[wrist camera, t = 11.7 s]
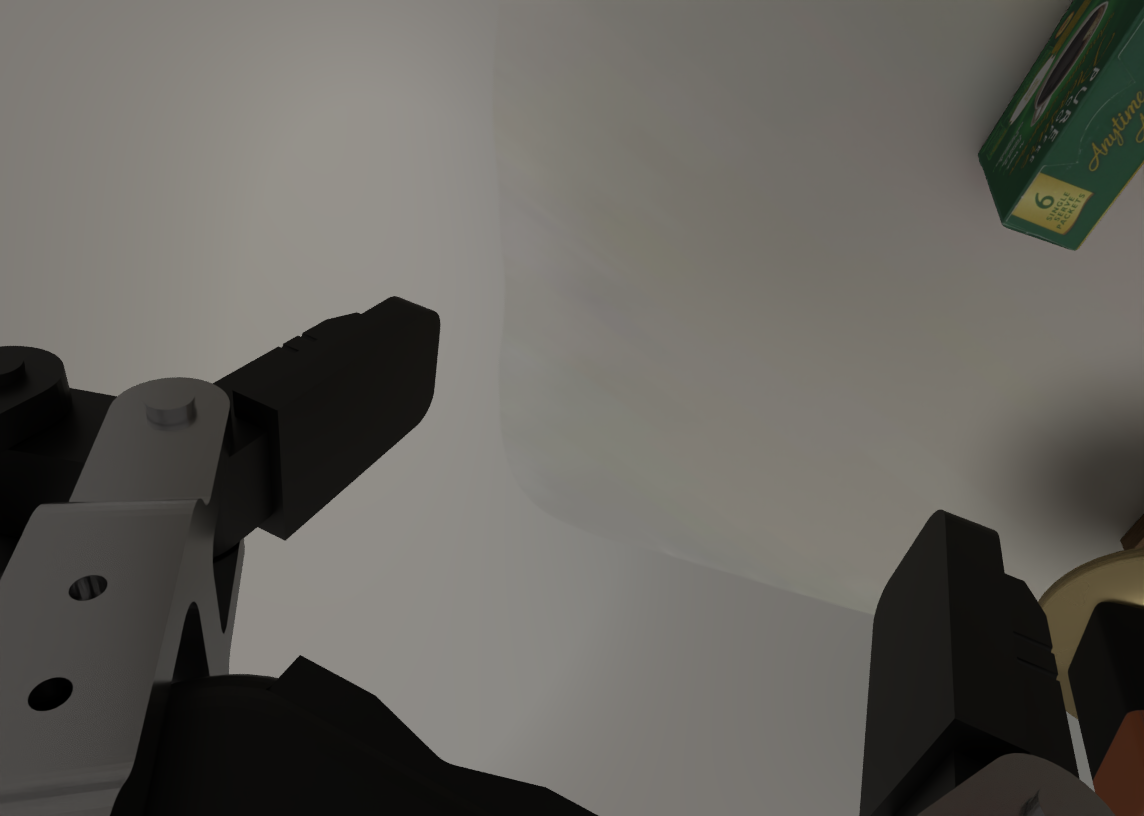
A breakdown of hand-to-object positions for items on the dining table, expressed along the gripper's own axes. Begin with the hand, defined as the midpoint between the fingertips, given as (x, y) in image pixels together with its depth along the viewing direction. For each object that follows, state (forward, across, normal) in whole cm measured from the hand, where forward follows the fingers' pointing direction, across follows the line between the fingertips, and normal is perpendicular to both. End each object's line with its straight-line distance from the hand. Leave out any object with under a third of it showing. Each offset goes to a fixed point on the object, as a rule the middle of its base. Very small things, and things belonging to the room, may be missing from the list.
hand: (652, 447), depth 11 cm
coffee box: (+33, -8, -4) cm, 34 cm away
